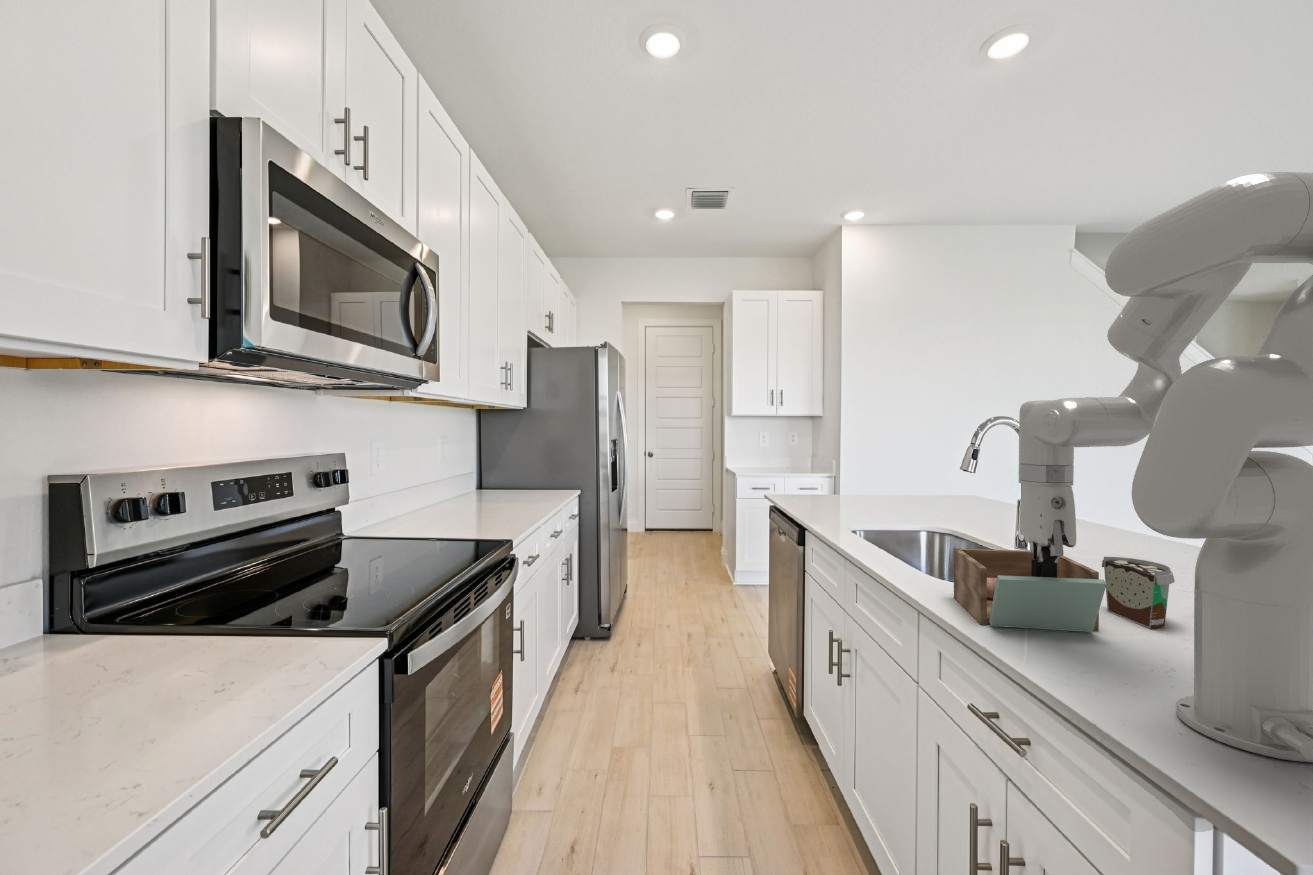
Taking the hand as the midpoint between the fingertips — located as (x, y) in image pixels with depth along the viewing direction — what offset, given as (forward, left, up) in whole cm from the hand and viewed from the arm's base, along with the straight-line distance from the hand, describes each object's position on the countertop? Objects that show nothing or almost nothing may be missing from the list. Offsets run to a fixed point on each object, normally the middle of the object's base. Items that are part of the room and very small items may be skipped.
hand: (1043, 584), depth 95 cm
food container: (+10, -20, -8) cm, 24 cm away
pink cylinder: (+15, 0, -7) cm, 16 cm away
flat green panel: (+1, 0, -8) cm, 8 cm away
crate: (+9, 0, -8) cm, 12 cm away
